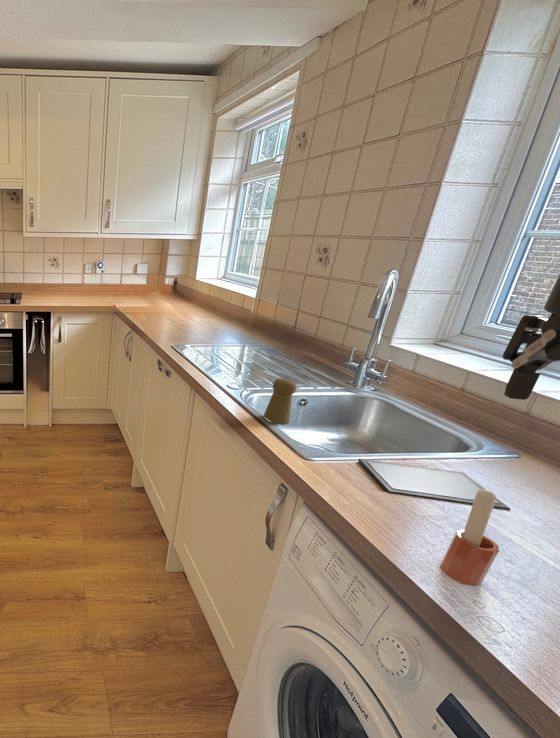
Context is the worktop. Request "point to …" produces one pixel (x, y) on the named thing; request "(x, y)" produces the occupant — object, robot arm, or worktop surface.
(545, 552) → the worktop surface
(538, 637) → the worktop surface
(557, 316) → the robot arm
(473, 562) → the pen cup
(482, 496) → the beige wooden rod
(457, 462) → the worktop surface
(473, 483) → the tablet
